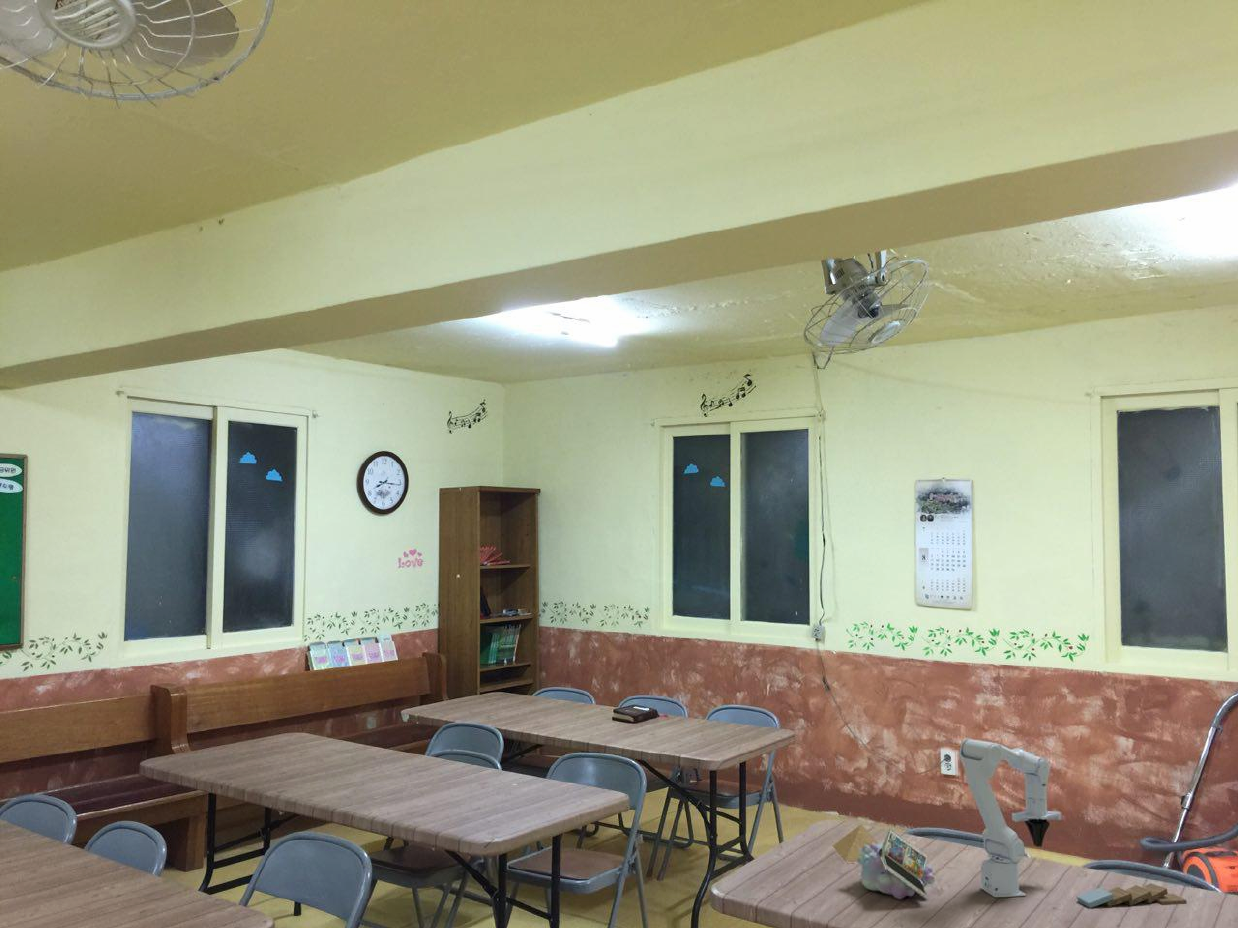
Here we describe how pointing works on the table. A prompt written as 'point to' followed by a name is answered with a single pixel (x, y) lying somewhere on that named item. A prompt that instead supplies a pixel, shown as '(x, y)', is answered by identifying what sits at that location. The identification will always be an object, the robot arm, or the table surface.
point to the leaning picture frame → (895, 867)
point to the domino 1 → (1095, 897)
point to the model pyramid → (853, 844)
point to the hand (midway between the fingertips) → (1037, 845)
